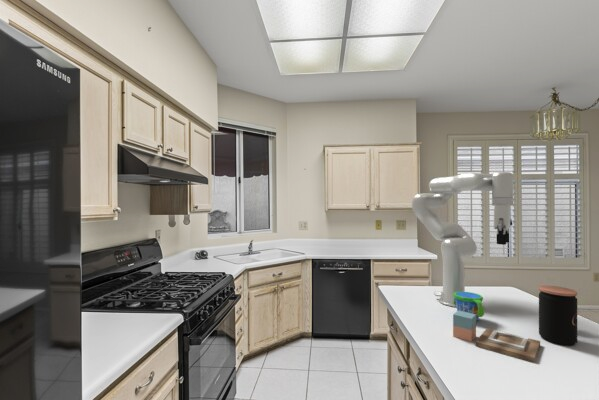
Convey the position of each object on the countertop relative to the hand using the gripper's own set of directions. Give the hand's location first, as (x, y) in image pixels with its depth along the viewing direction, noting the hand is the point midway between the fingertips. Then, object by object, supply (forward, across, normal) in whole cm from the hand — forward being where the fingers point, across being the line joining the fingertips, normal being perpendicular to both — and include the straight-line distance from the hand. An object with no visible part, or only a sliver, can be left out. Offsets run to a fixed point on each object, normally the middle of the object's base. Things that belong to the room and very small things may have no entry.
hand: (503, 243), depth 130 cm
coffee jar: (+32, +9, +17) cm, 38 cm away
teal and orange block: (+32, +27, -9) cm, 43 cm away
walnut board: (+32, +26, +4) cm, 42 cm away
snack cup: (+32, +7, -12) cm, 35 cm away
